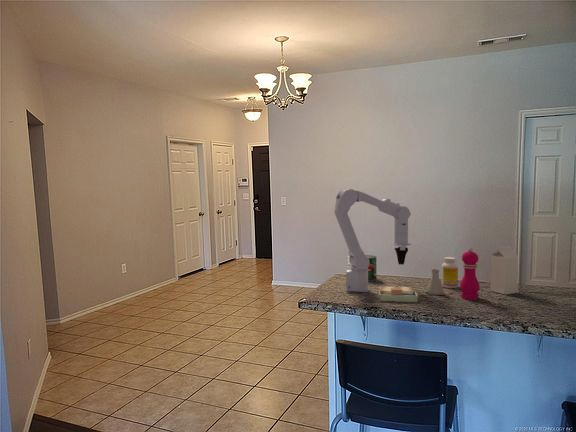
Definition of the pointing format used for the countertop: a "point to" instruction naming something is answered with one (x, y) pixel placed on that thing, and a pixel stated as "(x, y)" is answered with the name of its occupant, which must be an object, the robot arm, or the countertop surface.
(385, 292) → the birch plate
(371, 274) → the canned tomato
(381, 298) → the box
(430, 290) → the flask
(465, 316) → the countertop surface
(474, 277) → the pepper mill
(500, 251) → the milk carton
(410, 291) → the slate tile
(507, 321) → the countertop surface
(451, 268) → the supplement bottle
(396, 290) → the terracotta tile
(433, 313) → the countertop surface
